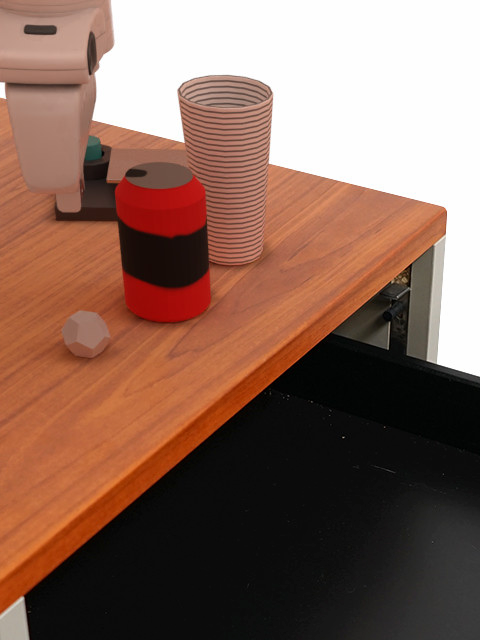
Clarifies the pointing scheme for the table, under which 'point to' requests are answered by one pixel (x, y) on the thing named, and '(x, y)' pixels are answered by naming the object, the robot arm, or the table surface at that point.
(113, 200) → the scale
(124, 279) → the soda can
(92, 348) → the polyhedron
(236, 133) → the cup
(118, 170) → the pan
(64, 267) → the table surface
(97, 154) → the button
